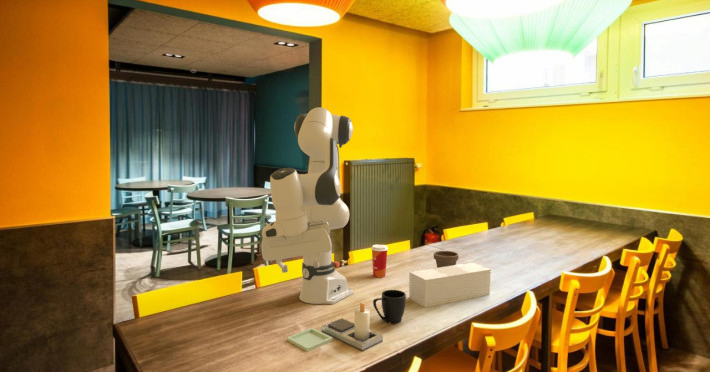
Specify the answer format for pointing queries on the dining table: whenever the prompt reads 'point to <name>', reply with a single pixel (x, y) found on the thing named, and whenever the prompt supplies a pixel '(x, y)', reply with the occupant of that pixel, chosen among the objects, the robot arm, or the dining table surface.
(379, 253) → the paper cup
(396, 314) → the mug
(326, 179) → the robot arm
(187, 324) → the dining table surface
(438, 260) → the flower pot
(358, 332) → the white candle
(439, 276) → the stack of papers
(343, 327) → the grey rectangular piece
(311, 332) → the tray
